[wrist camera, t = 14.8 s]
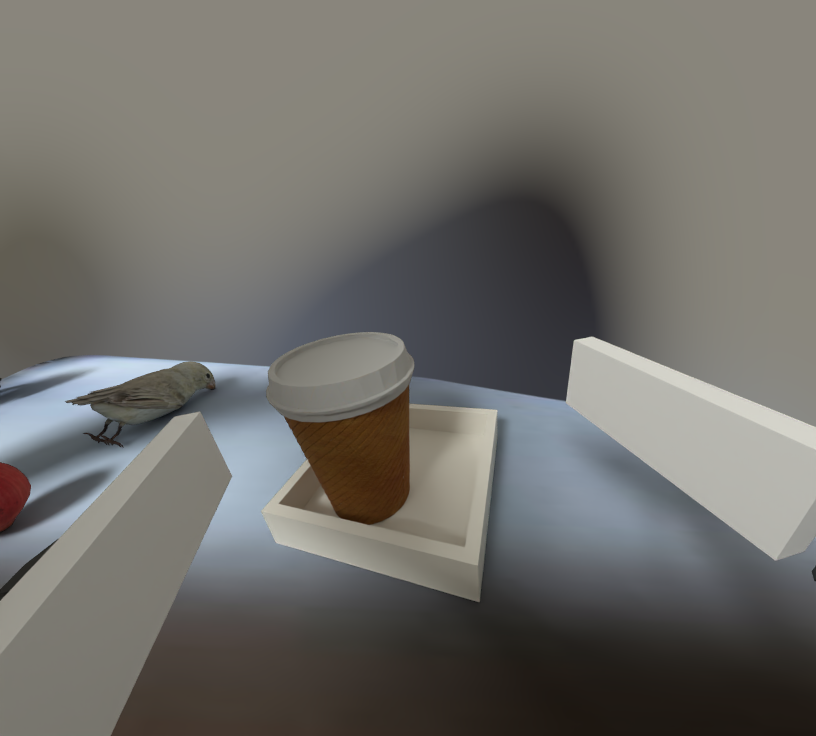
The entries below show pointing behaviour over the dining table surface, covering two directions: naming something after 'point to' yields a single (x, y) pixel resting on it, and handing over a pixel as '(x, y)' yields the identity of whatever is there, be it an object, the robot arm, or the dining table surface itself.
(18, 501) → the red round fruit
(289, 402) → the disposable coffee cup
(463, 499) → the dish
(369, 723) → the dining table surface
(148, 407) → the decorative bird
